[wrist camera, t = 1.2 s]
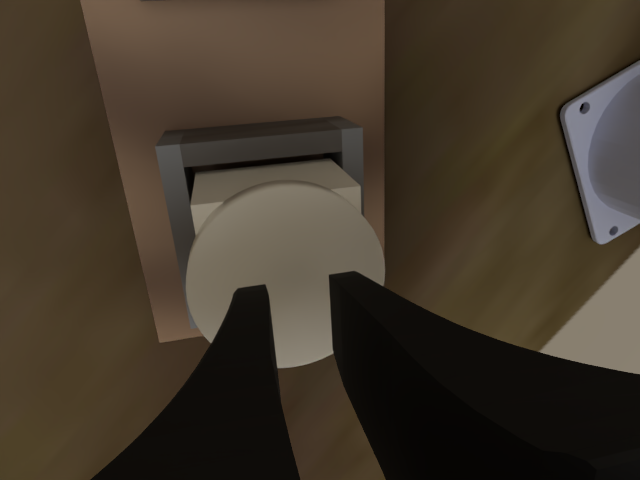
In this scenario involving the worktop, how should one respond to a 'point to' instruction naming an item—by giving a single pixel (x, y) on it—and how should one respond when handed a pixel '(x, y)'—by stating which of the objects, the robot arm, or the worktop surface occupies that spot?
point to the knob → (279, 248)
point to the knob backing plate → (232, 109)
